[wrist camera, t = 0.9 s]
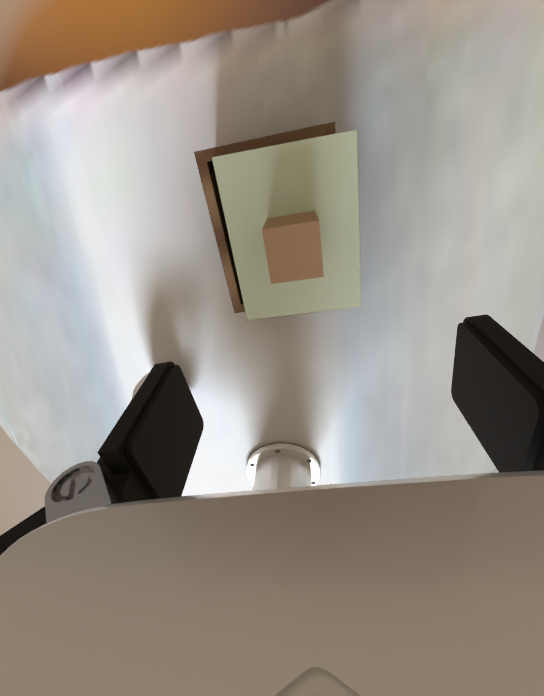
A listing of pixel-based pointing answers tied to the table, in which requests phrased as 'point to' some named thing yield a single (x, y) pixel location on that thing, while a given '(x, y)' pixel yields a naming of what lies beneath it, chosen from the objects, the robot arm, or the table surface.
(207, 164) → the box
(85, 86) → the table surface
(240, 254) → the lid
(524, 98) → the table surface
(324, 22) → the table surface
